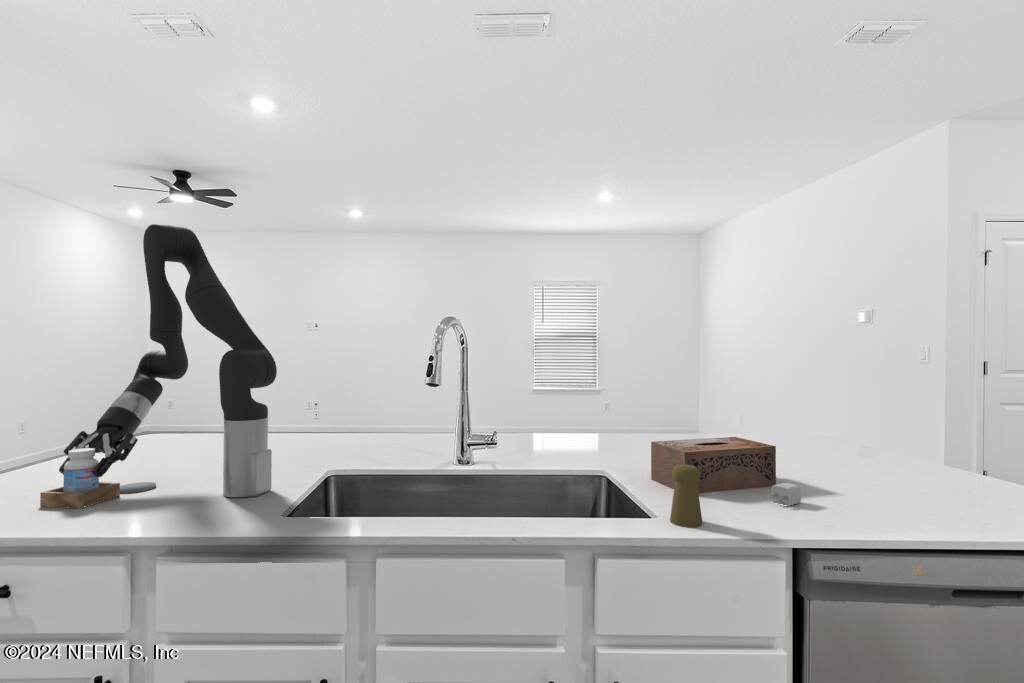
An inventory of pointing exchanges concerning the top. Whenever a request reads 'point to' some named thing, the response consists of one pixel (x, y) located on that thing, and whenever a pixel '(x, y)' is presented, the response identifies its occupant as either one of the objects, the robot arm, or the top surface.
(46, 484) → the top surface
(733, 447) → the tissue box cover
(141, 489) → the slate coaster
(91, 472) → the pill bottle
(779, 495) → the usb wall charger
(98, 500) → the wooden tray
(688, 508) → the cork
